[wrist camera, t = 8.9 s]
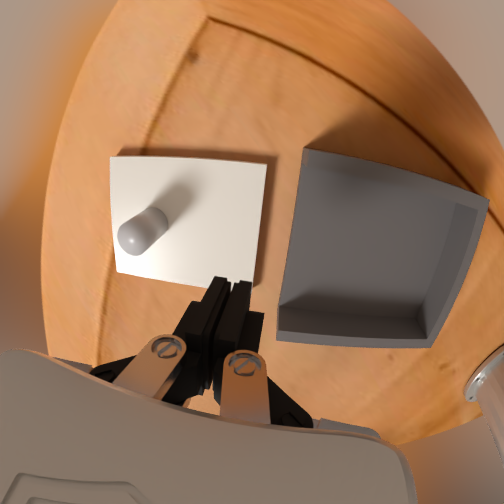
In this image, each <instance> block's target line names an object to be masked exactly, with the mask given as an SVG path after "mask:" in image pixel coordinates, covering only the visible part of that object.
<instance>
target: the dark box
mask: <svg viewBox="0 0 504 504" xmlns="http://www.w3.org/2000/svg"><path fill="white" fill-rule="evenodd" d="M489 201H490V200H489V199H487V198H484V197H482V196H480V195H478V194H475V193H473V192H471V191H468V190H466V189H463V188H461V187H458V186H455V185H453V184H450V183H447V182H444V181H441V180H438V179H435V178H432V177H429V176H425V175H422V174H419V173H416V172H412V171H409V170H405V169H402V168H398V167H394V166H390V165H386V164H383V163H379V162H374V161H370V160H366V159H361V158H357V157H352V156H348V155H343V154H338V153H332V152H327V151H321V150H316V149H310V148H303V153H302V161H301V168H300V175H299V182H298V189H297V196H296V203H295V209H294V216H293V222H292V229H291V235H290V241H289V247H288V253H287V259H286V265H285V270H284V276H283V282H282V287H281V293H280V298H279V303H278V309H277V332H276V340H277V341H286V342H295V343H306V344H317V345H330V346H345V347H366V348H431V346H432V345H433V343H434V341H435V339H436V338H437V336H438V334H439V332H440V330H441V328H442V326H443V325H444V323H445V321H446V319H447V317H448V315H449V313H450V311H451V309H452V307H453V304H454V302H455V300H456V298H457V296H458V294H459V291H460V289H461V287H462V284H463V282H464V279H465V277H466V275H467V272H468V269H469V267H470V264H471V261H472V259H473V256H474V253H475V250H476V247H477V244H478V241H479V238H480V235H481V231H482V228H483V224H484V221H485V217H486V213H487V209H488V205H489Z"/></svg>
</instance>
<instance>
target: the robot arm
mask: <svg viewBox="0 0 504 504" xmlns="http://www.w3.org/2000/svg"><path fill="white" fill-rule="evenodd" d="M251 290H252V282H250V281H244V280H240V281H239V283H236V282H235V283H234V285H233V288H232V290H231V282H229V281H227V278H225V277H219V276H214V278H213V280H212V282H211V284H210V285H209V287H208V289H207V291H206V293H205V295H204V297H203V299H202V300H201V302H197V301H192V302H191V303H190V305H189V306H188V308H187V310H186V311H185V313H184V315H183V317H182V318H181V320H180V322H179V324H178V325H177V327H176V329H175V331H174V332H173V334H172V335H169V334H164V335H159V336H157V337H154V338H153V339H152V340H150V341H149V342H148V344H147V345H146V346H145V347H144V348H143V349H142V350H141V351H140V352H139V353H138V355H135V356H132V357H128V358H125V359H121V360H117V361H114V362H110V363H106V364H103V365H100V366H97V367H95V368H92V365H88V364H83V363H78V362H73V361H69V360H64V359H60V358H56V357H50V356H48V355H45V354H42V353H39V352H35V351H32V350H26V349H11V350H8V351H6V352H4V353H2V354H1V355H0V504H418V502H417V494H416V488H415V483H414V479H413V475H412V471H411V468H410V465H409V463H408V460H407V458H406V457H405V455H404V454H403V452H402V451H401V450H400V449H399V448H398V447H396V446H395V445H393V444H391V443H389V442H387V441H385V440H382V439H381V438H380V436H379V434H378V433H377V432H376V431H374V430H373V429H370V428H366V427H360V426H355V425H350V424H345V423H340V422H336V421H331V420H327V419H323V418H321V419H320V420H316V419H312V418H311V416H310V415H309V414H308V413H307V412H306V411H305V410H304V409H303V408H301V407H300V406H299V405H298V404H297V403H296V402H295V401H294V400H292V399H291V398H290V397H289V396H288V395H287V394H286V393H285V392H284V391H283V390H282V389H280V388H279V387H278V386H277V385H276V384H275V383H274V382H273V381H272V380H271V379H270V378H269V377H268V376H267V370H266V363H265V360H264V359H263V358H262V356H260V355H259V354H258V349H259V343H260V337H261V331H262V325H263V319H264V313H261V312H254V311H249V307H250V298H251ZM212 380H213V391H214V399H215V400H216V402H217V403H218V404H219V405H220V416H218V415H214V414H209V413H205V412H200V411H196V410H192V409H188V408H187V407H188V405H189V403H190V400H191V397H193V396H196V395H202V396H203V393H204V390H205V389H208V390H209V389H210V386H211V383H212ZM464 396H465V398H466V400H467V401H469V402H474V401H478V403H479V405H480V408H481V410H482V412H483V414H484V417H485V419H486V421H487V424H488V426H489V428H490V431H491V433H492V436H493V439H494V441H495V444H496V447H497V449H498V452H499V455H500V458H501V461H502V464H503V467H504V345H503V346H502V347H500V348H499V349H498V350H496V351H495V352H494V353H493V354H492V355H491V356H489V357H488V358H487V359H486V360H485V361H484V362H483V363H482V364H481V365H480V367H479V368H478V369H477V370H476V371H475V372H474V374H473V375H472V376H471V378H470V379H469V381H468V383H467V385H466V387H465V390H464ZM502 504H504V503H502Z"/></svg>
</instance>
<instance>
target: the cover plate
mask: <svg viewBox="0 0 504 504" xmlns="http://www.w3.org/2000/svg"><path fill="white" fill-rule="evenodd" d="M266 171H267V164H265V163H256V162H247V161H237V160H226V159H214V158H199V157H180V156H136V155H133V156H112V157H110V197H111V216H112V229H113V240H114V250H115V259H116V266H117V272H121V273H126V274H131V275H136V276H141V277H146V278H152V279H157V280H163V281H168V282H174V283H180V284H186V285H192V286H198V287H204V288H208V287H209V285H210V284H211V282H212V280H213V278H214V276H219V277H225V278H227V281H229V282H231V290H232V288H233V285H234V283H235V282H236V283H239V281H240V280H244V281H250V282H252V288H253V280H254V271H255V263H256V255H257V247H258V239H259V230H260V222H261V213H262V205H263V197H264V188H265V180H266ZM251 293H252V290H251Z"/></svg>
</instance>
